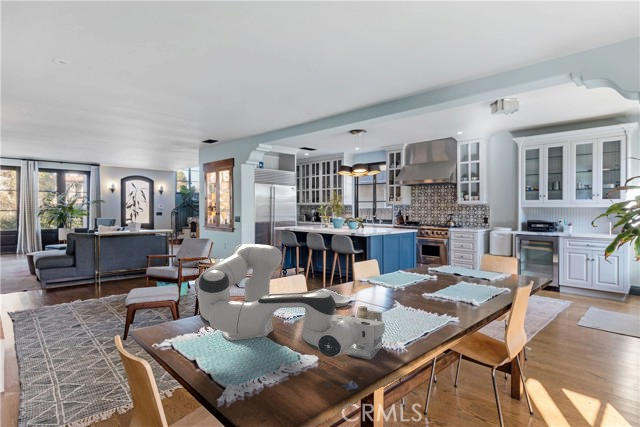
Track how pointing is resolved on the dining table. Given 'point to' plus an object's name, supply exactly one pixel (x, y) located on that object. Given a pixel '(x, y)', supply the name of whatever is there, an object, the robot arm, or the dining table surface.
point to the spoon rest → (337, 298)
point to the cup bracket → (365, 349)
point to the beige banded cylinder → (362, 312)
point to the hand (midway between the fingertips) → (364, 318)
